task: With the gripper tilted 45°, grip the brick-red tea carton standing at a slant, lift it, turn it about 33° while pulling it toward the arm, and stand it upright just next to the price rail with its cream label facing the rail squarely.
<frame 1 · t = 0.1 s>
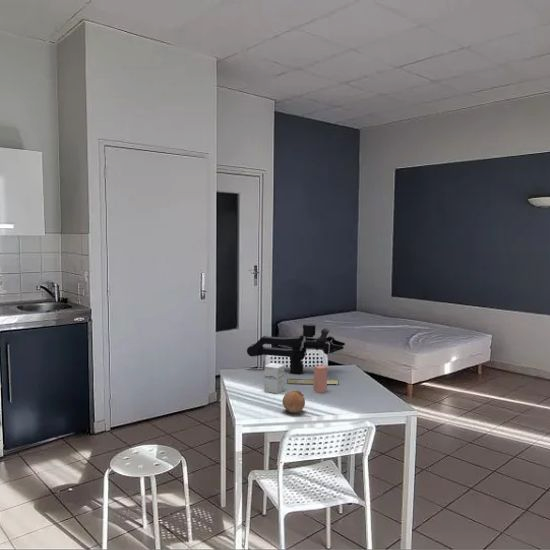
hand: (344, 345, 272), 17 cm above the table, tool horizontal, fingers open, 9 cm apart
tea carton: (320, 391, 247), on the table
price rail: (312, 383, 259), on the table
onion: (293, 412, 218), on the table
supplement box: (273, 391, 246), on the table
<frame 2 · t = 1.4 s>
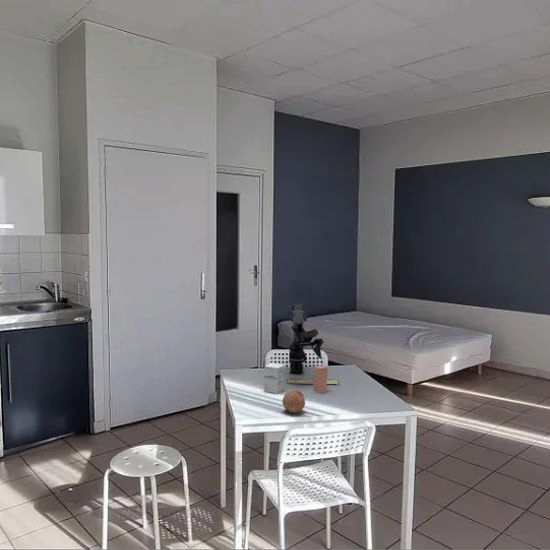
hand: (313, 358, 253), 14 cm above the table, tool tilted 45°, fingers open, 9 cm apart
nothing on the table moved.
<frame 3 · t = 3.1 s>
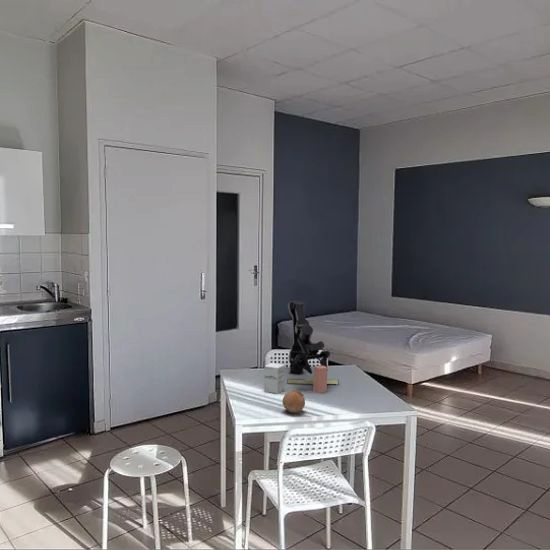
hand: (319, 372, 247), 9 cm above the table, tool tilted 45°, fingers open, 9 cm apart
nothing on the table moved.
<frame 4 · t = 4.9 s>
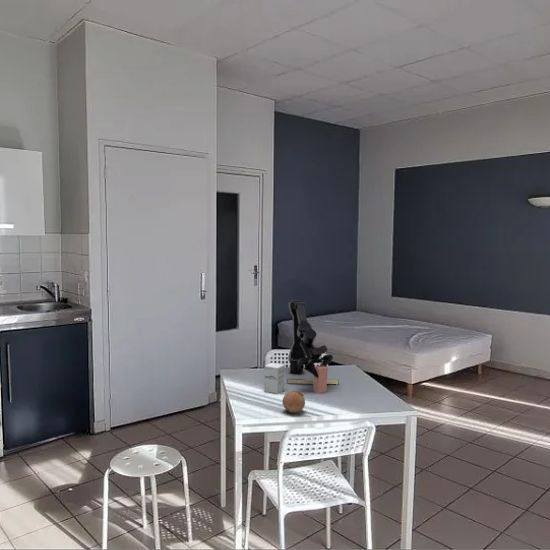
hand: (322, 376, 245), 8 cm above the table, tool tilted 45°, fingers closed on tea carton, 5 cm apart
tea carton: (320, 391, 247), on the table, touching gripper
everything else where it was.
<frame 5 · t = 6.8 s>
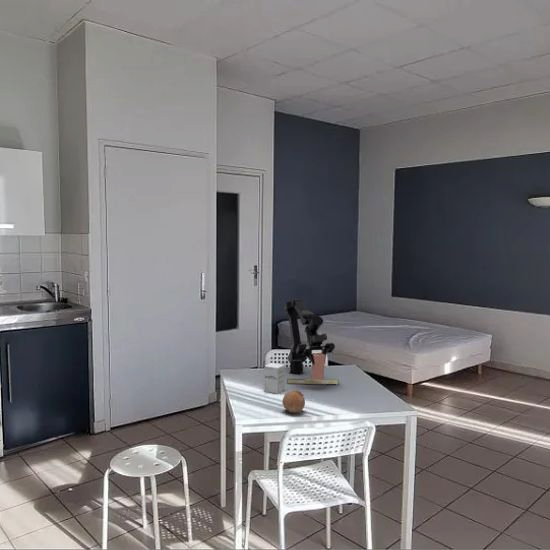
hand: (319, 364, 248), 13 cm above the table, tool tilted 40°, fingers closed on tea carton, 5 cm apart
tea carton: (317, 378, 251), point 5 cm above the table, touching gripper
everything else where it was.
when the fingers open (9 cm above the table, at t = 8.9 s): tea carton drops 1 cm, on the table.
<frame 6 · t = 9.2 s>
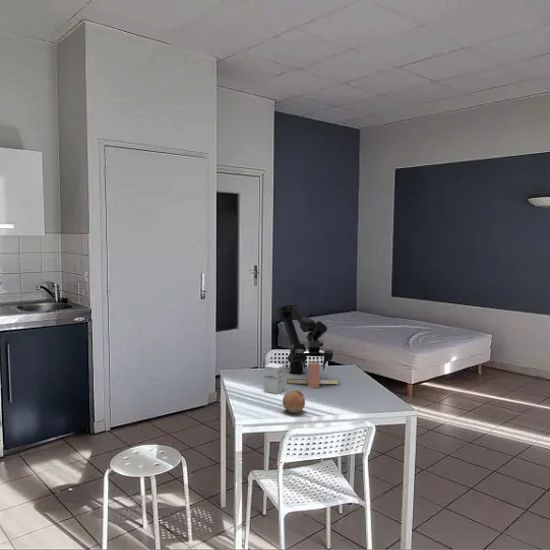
hand: (314, 369, 252), 9 cm above the table, tool tilted 45°, fingers open, 9 cm apart
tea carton: (313, 386, 254), on the table
everything else where it was.
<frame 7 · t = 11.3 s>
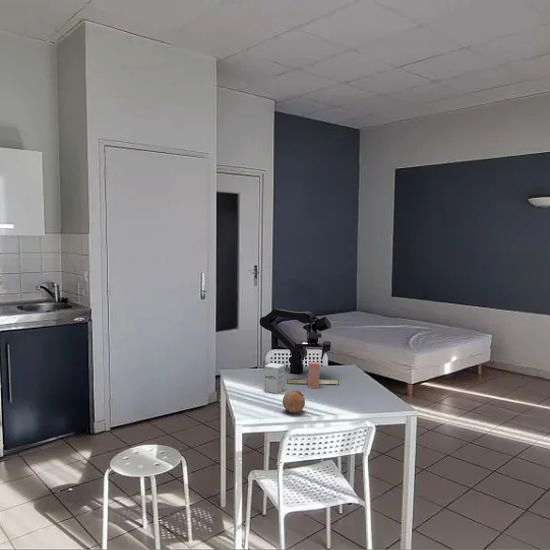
hand: (312, 359, 261), 12 cm above the table, tool tilted 45°, fingers open, 9 cm apart
nothing on the table moved.
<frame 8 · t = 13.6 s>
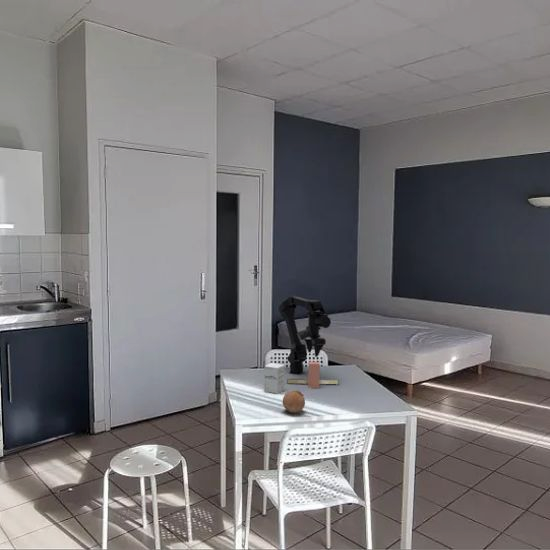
hand: (312, 354, 266), 13 cm above the table, tool pointing down, fingers open, 9 cm apart
nothing on the table moved.
at the end: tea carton 0.1 cm from the target spot, on the table; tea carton tilted 0°; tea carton 5.2 cm from the price rail (horizontally) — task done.
